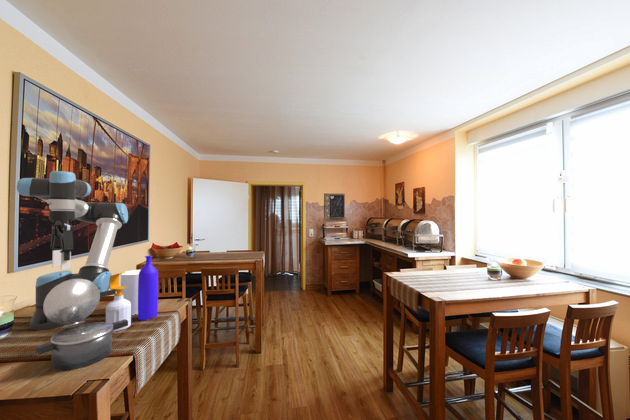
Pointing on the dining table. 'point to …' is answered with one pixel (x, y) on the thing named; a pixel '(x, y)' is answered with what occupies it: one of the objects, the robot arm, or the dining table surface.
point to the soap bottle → (118, 304)
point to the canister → (131, 288)
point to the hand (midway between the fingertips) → (61, 267)
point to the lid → (73, 301)
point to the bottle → (148, 291)
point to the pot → (81, 345)
